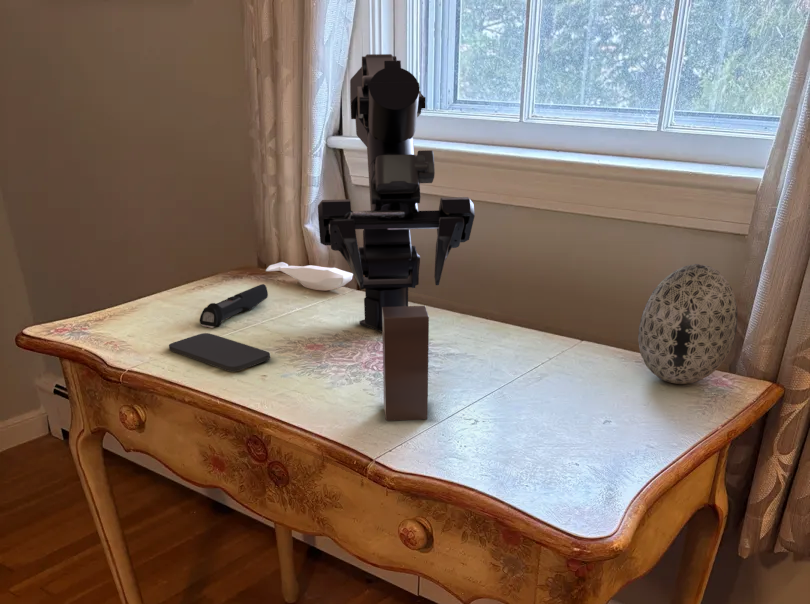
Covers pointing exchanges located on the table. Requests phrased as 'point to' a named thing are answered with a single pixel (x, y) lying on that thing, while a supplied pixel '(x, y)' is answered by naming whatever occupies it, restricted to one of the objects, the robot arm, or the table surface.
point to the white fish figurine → (314, 275)
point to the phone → (219, 352)
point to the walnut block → (405, 362)
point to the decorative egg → (688, 325)
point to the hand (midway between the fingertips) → (399, 284)
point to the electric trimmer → (232, 306)
